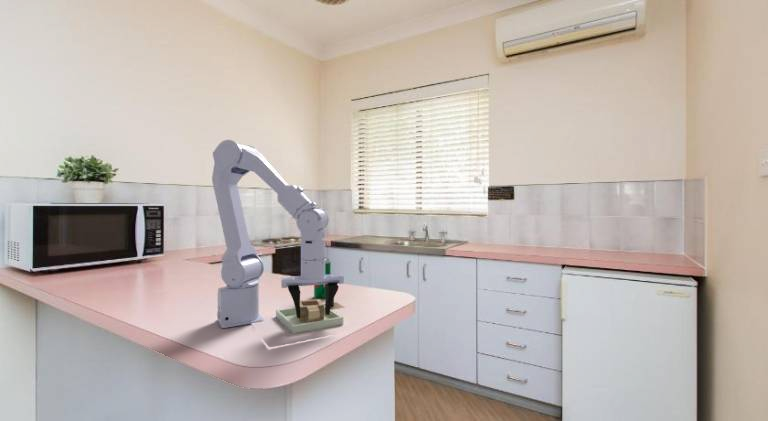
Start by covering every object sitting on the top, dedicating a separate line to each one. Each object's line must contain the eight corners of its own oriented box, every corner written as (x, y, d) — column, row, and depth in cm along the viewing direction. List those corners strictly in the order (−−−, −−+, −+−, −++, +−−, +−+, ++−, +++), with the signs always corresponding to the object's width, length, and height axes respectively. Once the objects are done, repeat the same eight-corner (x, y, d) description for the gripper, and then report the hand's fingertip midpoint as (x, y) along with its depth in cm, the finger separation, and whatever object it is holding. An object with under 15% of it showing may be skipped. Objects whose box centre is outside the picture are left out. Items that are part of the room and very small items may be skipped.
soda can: (327, 300, 108) (327, 260, 108) (311, 299, 109) (311, 260, 109) (332, 296, 113) (332, 258, 113) (317, 295, 114) (317, 257, 114)
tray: (293, 335, 79) (293, 326, 79) (275, 318, 91) (275, 310, 91) (343, 325, 86) (343, 317, 86) (321, 310, 98) (321, 303, 98)
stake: (324, 312, 96) (324, 290, 96) (316, 306, 101) (316, 285, 101) (345, 308, 100) (345, 287, 99) (336, 303, 105) (336, 283, 105)
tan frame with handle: (327, 324, 85) (327, 309, 85) (301, 327, 83) (301, 312, 83) (319, 312, 94) (319, 299, 94) (296, 314, 92) (296, 301, 92)
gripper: (339, 255, 92) (339, 307, 92) (280, 257, 87) (280, 313, 87) (345, 259, 85) (345, 315, 85) (282, 262, 80) (282, 322, 81)
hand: (313, 315), depth 86 cm, fingers open, 6 cm apart
